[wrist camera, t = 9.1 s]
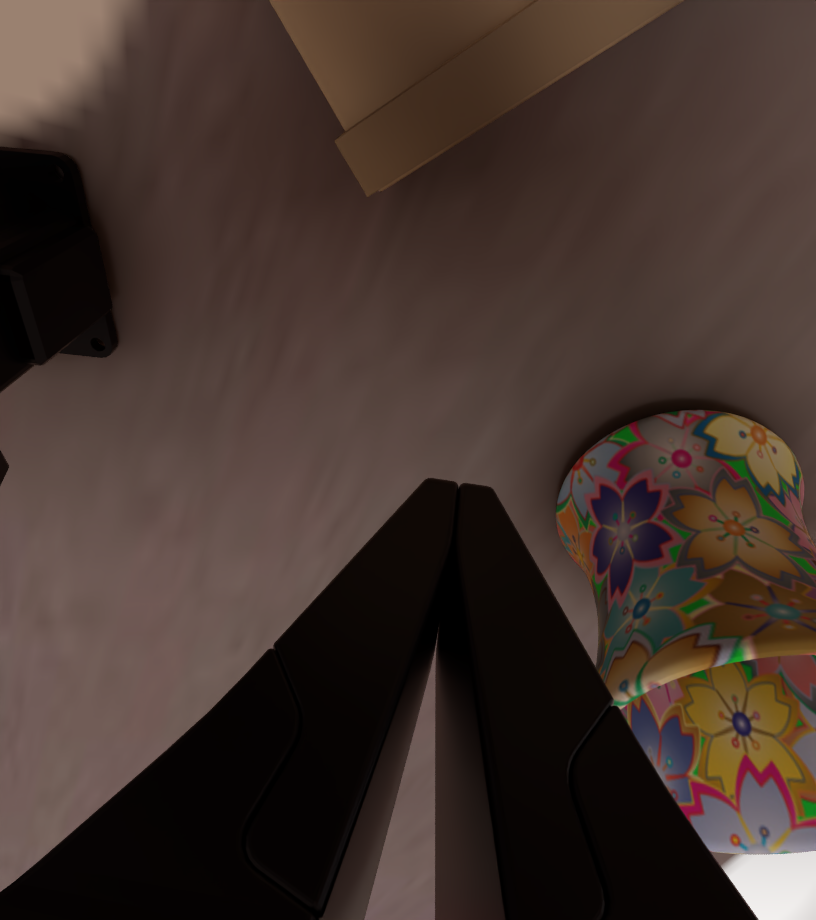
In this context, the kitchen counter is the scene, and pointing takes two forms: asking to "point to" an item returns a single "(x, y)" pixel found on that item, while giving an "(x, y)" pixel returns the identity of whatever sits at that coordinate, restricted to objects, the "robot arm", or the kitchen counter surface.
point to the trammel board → (442, 66)
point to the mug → (706, 616)
